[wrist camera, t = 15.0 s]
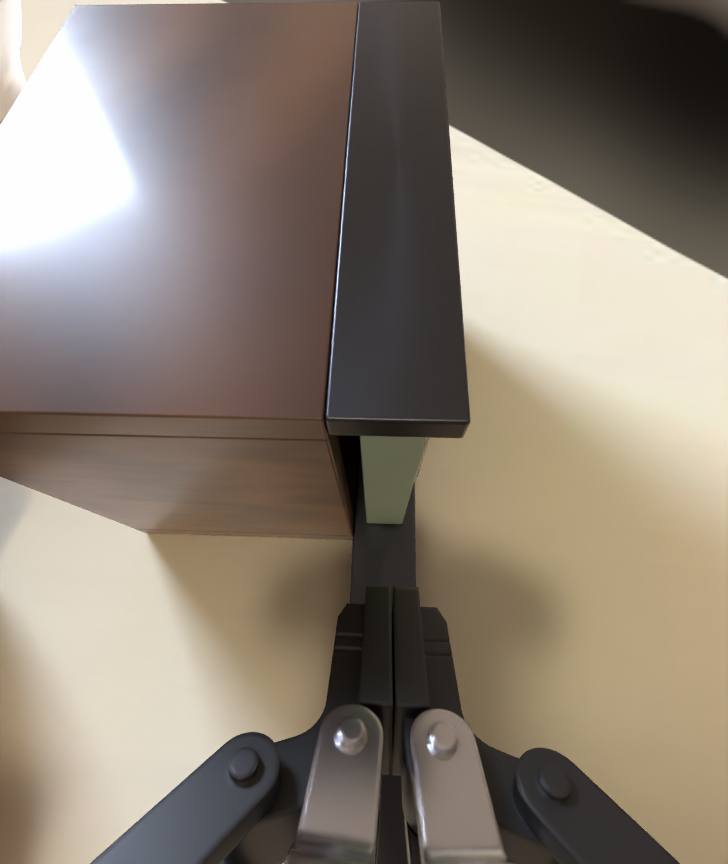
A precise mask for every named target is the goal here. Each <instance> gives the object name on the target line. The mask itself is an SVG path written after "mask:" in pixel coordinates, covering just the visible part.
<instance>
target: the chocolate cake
mask: <svg viewBox="0 0 728 864" xmlns="http://www.w3.org/2000/svg"><path fill="white" fill-rule="evenodd" d="M21 38H22V10H21V0H0V125H1V124H2V122H3V120H4V119H5V117H6V116H7V114H8V112H9V111H10V109H11V108H12V106H13V104H14V103H15V101H16V100H17V98H18V96H19V95H20V93H21V92H22V90H23V88H24V87H25V85H26V79H25V76H24V72H23V69H22V65H21V62H20V57H19V53H20V48H21Z"/></svg>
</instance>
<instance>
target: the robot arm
mask: <svg viewBox="0 0 728 864" xmlns="http://www.w3.org/2000/svg"><path fill="white" fill-rule="evenodd" d="M391 742H392V775H395V776H401V784H402V807H403V812H404V825H405V836H406V846H407V857H408V864H680V863H679V862H678V861H677V860H676V859H675V858H673V857H672V856H671V855H670V854H669V853H668V852H667V851H666V850H665V849H664V848H663V847H662V846H661V845H660V844H659V843H658V842H656V841H655V840H654V839H653V838H652V837H651V836H650V835H649V834H648V833H647V832H646V831H645V830H644V829H643V828H642V827H641V826H640V825H638V824H637V823H636V822H635V821H634V820H633V819H632V818H631V817H630V816H629V815H628V814H627V813H626V812H625V811H624V810H623V809H621V808H620V807H619V806H618V805H617V804H616V803H615V802H614V801H613V800H612V799H611V798H610V797H609V796H608V795H607V794H606V793H604V792H603V791H602V790H601V789H600V788H599V787H598V786H597V785H596V784H595V783H594V782H593V781H592V780H591V779H590V778H589V777H587V776H586V775H585V774H584V773H583V772H582V771H581V770H580V769H579V768H578V767H577V766H576V765H575V764H574V763H573V762H571V761H570V760H569V759H568V758H566V757H565V756H563V755H562V754H560V753H558V752H556V751H553V750H550V749H546V748H534V749H530V750H528V751H526V752H525V753H524V754H523V755H522V756H521V757H520V759H519V758H516V757H514V756H511V755H509V754H506V753H504V752H501V751H499V750H496V749H494V748H492V747H490V746H488V745H487V744H485V743H484V742H482V741H481V740H480V739H479V738H477V737H476V735H475V734H474V733H473V732H472V730H471V728H470V727H469V726H468V724H467V723H466V722H465V720H464V717H463V714H462V710H461V705H460V699H459V693H458V687H457V681H456V676H455V670H454V664H453V658H452V652H451V646H450V642H449V634H448V628H447V623H446V621H445V619H444V618H443V616H442V615H441V613H440V612H439V610H438V609H437V608H434V607H420V601H419V591H418V587H396V586H393V592H392V613H391V586H377V585H366V597H365V604H351V603H347V604H346V606H345V607H344V609H343V610H342V612H341V613H340V615H339V616H338V621H337V628H336V637H335V643H334V650H333V657H332V664H331V672H330V679H329V686H328V693H327V701H326V705H325V709H324V711H323V714H322V715H321V717H320V719H319V720H318V721H317V722H316V724H315V725H314V726H313V727H311V728H310V729H309V730H307V731H306V732H304V733H302V734H300V735H298V736H295V737H292V738H289V739H285V740H282V741H279V742H275V743H274V742H273V740H271V739H270V738H269V737H268V736H266V735H264V734H261V733H257V732H248V733H243V734H240V735H238V736H236V737H234V738H232V739H230V740H229V741H228V742H227V743H225V744H224V745H223V746H222V747H221V748H220V749H218V750H217V751H216V752H215V753H214V754H213V755H212V756H211V757H209V758H208V759H207V760H206V761H205V762H204V763H203V764H202V765H200V766H199V767H198V768H197V769H196V770H195V771H194V772H193V773H191V774H190V775H189V776H188V777H187V778H186V779H185V780H184V781H182V782H181V783H180V784H179V785H178V786H177V787H176V788H175V789H173V790H172V791H171V792H170V793H169V794H168V795H167V796H166V797H164V798H163V799H162V800H161V801H160V802H159V803H158V804H157V805H155V806H154V807H153V808H152V809H151V810H150V811H149V812H148V813H146V814H145V815H144V816H143V817H142V818H141V819H140V820H139V821H137V822H136V823H135V824H134V825H133V826H132V827H131V828H130V829H128V830H127V831H126V832H125V833H124V834H123V835H122V836H121V837H119V838H118V839H117V840H116V841H115V842H114V843H113V844H112V845H110V846H109V847H108V848H107V849H106V850H105V851H104V852H103V853H101V854H100V855H99V856H98V857H97V858H96V859H95V860H93V861H92V862H91V863H90V864H282V863H284V864H377V853H378V840H379V826H380V809H381V786H382V774H383V775H389V765H390V746H391Z"/></svg>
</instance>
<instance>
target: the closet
mask: <svg viewBox="0 0 728 864" xmlns="http://www.w3.org/2000/svg"><path fill="white" fill-rule="evenodd" d="M357 15H358V2H303V3H302V2H301V3H300V2H298V3H216V4H135V5H75V7H74V8H73V10H72V12H71V13H70V15H69V16H68V18H67V20H66V21H65V23H64V24H63V26H62V28H61V29H60V31H59V32H58V34H57V36H56V37H55V39H54V40H53V42H52V44H51V45H50V47H49V48H48V50H47V52H46V53H45V55H44V56H43V58H42V60H41V61H40V63H39V64H38V66H37V68H36V69H35V71H34V72H33V74H32V76H31V77H30V79H29V80H28V82H27V84H26V85H25V87H24V88H23V90H22V92H21V93H20V95H19V96H18V98H17V100H16V101H15V103H14V104H13V106H12V108H11V109H10V111H9V112H8V114H7V116H6V117H5V119H4V120H3V122H2V124H1V125H0V477H3V478H6V479H8V480H11V481H13V482H16V483H19V484H21V485H24V486H26V487H29V488H31V489H34V490H37V491H39V492H42V493H44V494H47V495H50V496H52V497H55V498H57V499H60V500H62V501H65V502H68V503H70V504H73V505H75V506H78V507H81V508H83V509H86V510H88V511H91V512H93V513H96V514H99V515H101V516H104V517H106V518H109V519H112V520H114V521H117V522H119V523H122V524H125V525H127V526H130V527H132V528H135V529H137V530H139V531H142V532H145V533H162V534H193V535H223V536H254V537H285V538H316V539H346V540H353V525H354V503H355V481H356V459H357V437H358V436H348V435H330V434H329V433H328V431H327V426H326V422H325V418H324V416H325V404H326V392H327V379H328V367H329V355H330V343H331V331H332V319H333V306H334V294H335V282H336V270H337V258H338V246H339V234H340V221H341V209H342V197H343V185H344V173H345V161H346V148H347V136H348V124H349V112H350V100H351V88H352V76H353V63H354V51H355V39H356V27H357Z"/></svg>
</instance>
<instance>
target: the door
mask: <svg viewBox="0 0 728 864" xmlns="http://www.w3.org/2000/svg"><path fill="white" fill-rule="evenodd" d="M428 439H429V437H390V436H360V446H361V459H362V471H363V484H364V496H365V509H366V521H367V523H378V524H402V523H403V519H404V515H405V512H406V508H407V505H408V501H409V498H410V494H411V491H412V487H413V484H414V480H415V477H417V476H418V473H419V469H420V466H421V462H422V459H423V456H424V452H425V449H426V446H427V442H428Z"/></svg>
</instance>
